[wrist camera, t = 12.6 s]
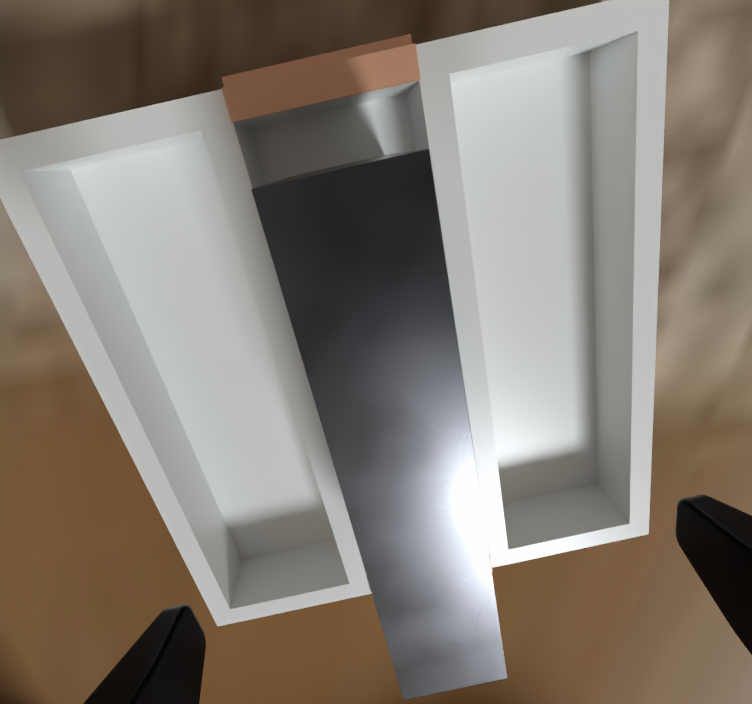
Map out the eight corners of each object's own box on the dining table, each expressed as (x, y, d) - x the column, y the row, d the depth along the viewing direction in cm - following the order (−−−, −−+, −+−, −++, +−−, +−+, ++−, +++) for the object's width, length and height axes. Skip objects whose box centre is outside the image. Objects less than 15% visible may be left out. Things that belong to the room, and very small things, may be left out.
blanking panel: (380, 505, 20) (403, 700, 13) (294, 175, 15) (251, 189, 8) (446, 490, 20) (507, 677, 13) (384, 155, 15) (428, 149, 8)
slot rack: (233, 567, 22) (216, 630, 19) (38, 138, 14) (-39, 132, 12) (608, 486, 22) (651, 537, 19) (606, 8, 14) (675, -31, 11)
